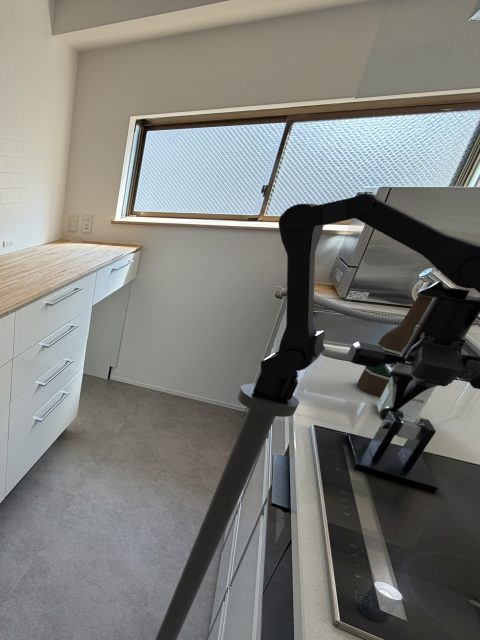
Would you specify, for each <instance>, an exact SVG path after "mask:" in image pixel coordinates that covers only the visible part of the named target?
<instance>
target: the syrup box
mask: <svg viewBox="0 0 480 640" xmlns="http://www.w3.org/2000/svg"><path fill="white" fill-rule="evenodd" d="M407 363H410V362H407ZM411 375H412V374H411ZM435 389H436V387H432V388H429V389H427V390H425V391H424V392H422V393H420V394H419V395H417V396H416V397H415V398H413V399H412V400H411V401H409V402H408V403H406V404H405V405H404V406H402V407H401V408H400V409H401V410H402V412H403V414H404V417H403V420H406V421H410V422H414V423H416V421H417V419H418V417H419V416H420V414H422V413H421V412H422V411H423V410H424V407H425V406H426V404H427V403H428V401H429V399H430V398H431V396H432V394H433V393H434V391H435ZM392 396H393V379H392V377H391V379H390V380H389V382H388V384H387V386H386V388H385V390H384V391H383V393H382V395H381V397H380V396H379V399H378V401H377V403H376V408H377V412H378V413H379V412H380V411H381V410H382V409H383V408H385V407H389V406H392Z"/></svg>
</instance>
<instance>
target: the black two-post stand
mask: <svg viewBox="0 0 480 640" xmlns="http://www.w3.org/2000/svg"><path fill="white" fill-rule="evenodd" d="M416 424H417V425H418V426H420V427H421V429H420V431H419V433H418V435H417V437H416V438H415V440H414V441H413V440H409V439H406V441H405V442H404V444H403V446H400V445H399V446H398V445H395V444H391V443H392V441H393V439H394V438H395V436H396V433H397V431H398V430H399V428H400V426H401V425H402V421H401V420H400V418H399V416H398V414H397V412H393V411H389V412H388V414H387V416H386V417H385V419H384V420H383V421H382V420H381V423H380V426H379V428H378V429H377V431H376V432H375V434H374V436H373V438H369V437H365V436H361V435H357V434H354V433H351V432H347V434H346V435H345V437H344V438H345V442H346V446H347V449H348V453H349V457H350V461H351V464H352V467H353V470H354V471H358V472H361V473H364V474H368V475H371V476H374V477H378V478H381V479H384V480H388V481H392V482H395V483H398V484H402V485H403V486H404V485H405V486H408V487H411V488H415V489H418V490H420V491H421V490H422V491H424V492H428V493H431V494H435V493H436V492H437V491H438V489H439V486H438V485H437V483H436V481H435V479H434V477H433V476H432V473H431V472H430V470H429V467H428V466H427V464H426V462H425V460H424V458H423V457H422V453H424V450H426V447H428V445H429V443H430V442H431V440H432V438H433V437H434V436H435V434H436V433H437V431H436V429H435V427H434V425H433V424H432V423H431V421H430V420H429V419H426V418H421V417H420V418H419V420H418V422H417V423H416Z"/></svg>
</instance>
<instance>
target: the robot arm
mask: <svg viewBox="0 0 480 640" xmlns="http://www.w3.org/2000/svg"><path fill="white" fill-rule="evenodd" d="M350 220H358V221H360V222H362V223H363V224H365V225H367V226H368V227H370V228H373V229H374V230H376V231H377V232H380V233H381V234H383V235H385V236H387V237H389V238H390V239H392V240H394V241H396V242H398V243H400V244H402V245H404V246H405V247H406V248H408V249H410V250H412V251H414V252H415V253H418V254H420V255H421V256H423V257H424V259H426V260H427V261H428V262H429V263H430V264H432V266H433V267H434V268H436V270H437V271H439V272H440V273H441V274H442V275H443V276H444V277H446V278H447V279H448V280H449V281H450V282H452V283H453V284H454V285H456V286H457V288H456V287H450V286H446V285H445V284H444V282H443V280H438V281H437V282H436V283H434V284H432V285H429V286H426V287H424V288H423V287H422V289H421V290H420V291H419V292H418V293H419V294H420V295H425V296H431V297H433V299H432V301H431V303H430V304H429V306H428V308H427V310H426V312H425V313H424V315H423V317H422V319H421V321H420V322H419V324H418V325H416V326H415V328H414V330H413V331H414V333H413V335H412V337H411V338H410V340H409V342H408V344H407V345H406V347H404V348H403V350H402V351H401V352H402V354H401V355H397V354H392V353H386V352H385V351H384V349H383V348H382V346H379V345H377V344H372V343H368V342H362V341H356V342H355V343H352V344H351V346H350V348H349V350H348V352H347V357H348V360H349V362H350V363H351V364H355V365H358V366H363V367H366V366H368V367H373V368H374V367H377V366H380V365H382V363H386V364H385V368H386V369H387V371H388V373H389V374H390V375H392V379H393V396H392V406H393V408H397V409H400V408H401V407H402V406H404V405H405V404H406V403H408V402H409V401H411V400H412V399H413V398H415V397H416V396H417V395H419V394H420V393H422V392H424V391H425V390H427V389H429V388H432V387H435V388H437V387H447V386H449V385H451V384H452V383H453V382H454V381H455V380H456V379H457V378H458V379H463V380H468V383H469V384H470V386H471V387H472V389H477V390H480V356H476V355H471V354H462V349H463V347H464V345H465V343H466V339H465V337H466V336H467V334H468V332H469V331H470V330H471V327H473V325H474V323H475V322H476V320H477V318H478V316H479V315H480V297H476V296H472V295H469V293H470V291H471V290H470V289H474V290H475V291H476V292H477V293H479V294H480V243H478V242H476V241H472V240H469V239H464V238H461V237H457V236H455V235H452V234H449V233H446V232H444V231H442V230H440V229H438V228H436V227H434V226H432V225H430V224H428V223H426V222H425V221H423V220H421V219H419V218H417V217H415V216H413V215H411V214H409V213H407V212H405V211H403V210H402V209H400V208H397V207H396V206H393V205H392V204H390V203H387V202H386V201H384V200H382V199H381V198H380V197H379V196H378V195H376V194H373V193H360V194H357V195H354V196H352V197H348V198H344V199H340V200H339V199H338V200H335V201H330V202H325V203H321V204H316V203H297V204H294V205H291V206H290V207H288V208H287V209H286V210H285V211H284V212H283V213H282V214H281V215H280V217H279V218H278V229H279V234H280V235H279V236H280V239H281V242H282V245H283V248H284V251H285V252H286V256H287V258H286V262H287V263H286V273H287V274H286V317H285V319H286V321H285V323H286V324H285V328H284V332H283V334H282V336H281V338H280V342H279V346H278V350H277V351H275V352H273V353H272V354H270V355H269V356H267V357H266V358H264V359H263V360H261V361H260V369H259V373H258V374H257V378H256V380H255V382H254V383H252V384H253V388H252V396H254V397H258V398H262V399H266V400H270V401H274V402H278V403H282V404H287V403H288V400H290V399H291V398H292V396H294V395H295V394H294V393H295V391H296V390H297V387H298V385H299V380H298V377H299V373H298V372H299V371H300V372H301V371H303V370H305V369H307V368H308V367H310V366H311V365H312V364H313V363H314V362H316V361H317V360H318V359H319V358H320V356H321V354H322V353H323V352H325V351H326V347H325V346H324V340H325V335H326V330H319V331H317V329H316V326H315V324H314V301H315V300H314V299H315V271H316V270H315V269H316V268H315V267H316V250H317V248H318V245H319V242H320V240H321V237H322V233H323V229H324V226H325V225H326V226H327V225H332V224H336V223H340V222H345V221H350ZM458 287H460V288H458ZM478 328H480V323H479V324H478ZM407 362H410V363H407ZM411 374H412V375H411Z"/></svg>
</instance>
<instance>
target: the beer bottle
mask: <svg viewBox="0 0 480 640" xmlns="http://www.w3.org/2000/svg"><path fill="white" fill-rule="evenodd" d="M416 296H417V297H416V299H415V300H414V302H413V304H412V305H411V307H410V308H409V310H408V312H407V313H406V315H405V316H404V317H403V319H402V321H400V323H399V324H398V325H397V326H395V327H393V328H391V329H390V330H388V331H387V332H386V333H385V334H384V335H382V336H381V338H380V340H379V341H378V343H377V344H376V345H379V346H382V348H383V349H384V351H385V352H386V353H392V354H397V355H401V354H402V352H401V351H402V350H403V348H404V347H406V345H407V344H408V342H409V340H410V338H411V337H412V335H413V333H414V331H413V330H414V328H415V326H416V325H418V324H419V322H420V321H421V319H422V317H423V315H424V313H425V312H426V310H427V308H428V306H429V304H430V303H431V301H432V299H433V297H431V296H425V295H420V294H419V292H418V293H417V294H416ZM385 364H386V363H382V365H380V366H377V367H374V368H373V367H368V366H364V369H363V371H362V373H361V374H360V377H359V378H358V381H357V382H356V383H357V384H356V386H357V387H358V388H359V389H361V391H363V392H365V393H368V394H371V395H374V396H376V397H379V398H380V397H381V395H382V393H383V391H384V390H385V388H386V386H387V384H388V382H389V380H390V379H391V377H392V375H390V374H389V373H388V371H387V369H386V368H385Z"/></svg>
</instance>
